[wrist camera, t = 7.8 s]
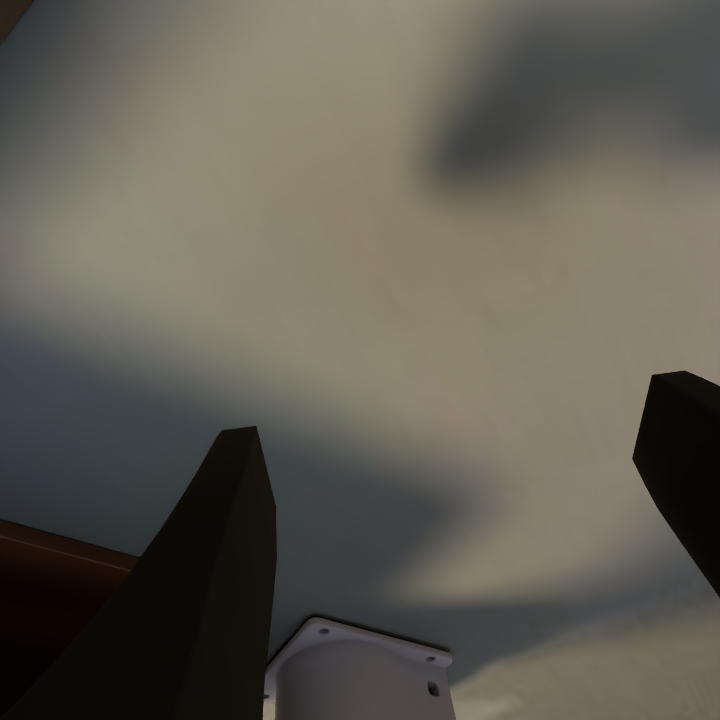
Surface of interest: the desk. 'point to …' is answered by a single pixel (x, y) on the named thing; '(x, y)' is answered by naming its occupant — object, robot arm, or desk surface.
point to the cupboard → (47, 600)
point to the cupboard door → (11, 14)
